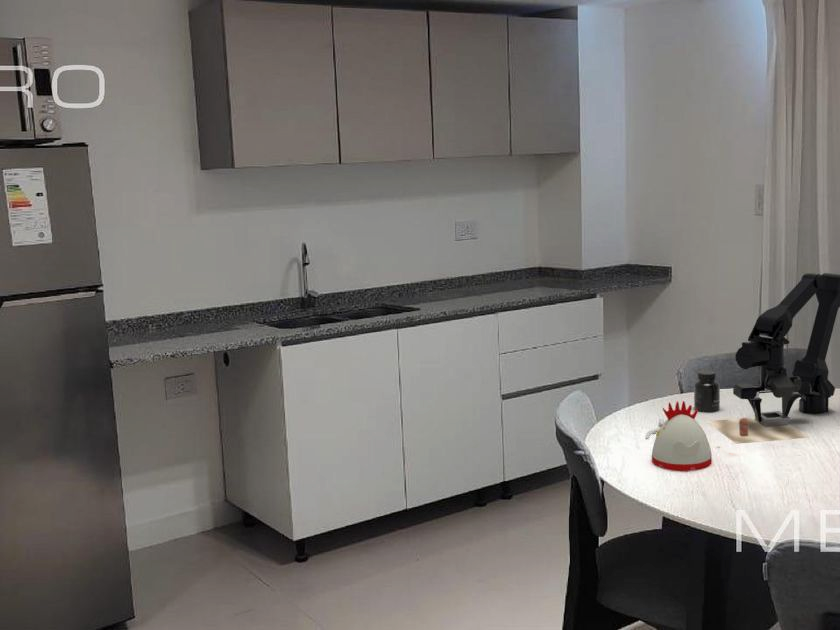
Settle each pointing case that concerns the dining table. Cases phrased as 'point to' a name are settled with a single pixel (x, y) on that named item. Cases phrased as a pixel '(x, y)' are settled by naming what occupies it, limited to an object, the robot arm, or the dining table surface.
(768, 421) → the grey square frame
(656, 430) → the pliers
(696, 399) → the supplement bottle
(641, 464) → the dining table surface
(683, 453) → the kitchen timer
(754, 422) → the keeper board
